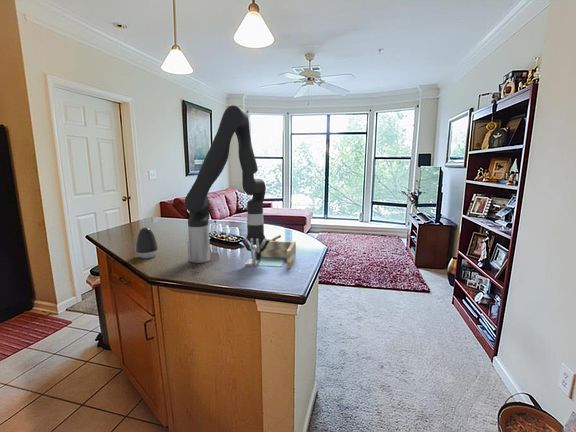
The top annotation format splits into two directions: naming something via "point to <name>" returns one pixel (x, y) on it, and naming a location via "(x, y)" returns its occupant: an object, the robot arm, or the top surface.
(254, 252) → the bracket
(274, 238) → the wall
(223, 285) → the top surface
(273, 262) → the pad
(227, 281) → the top surface
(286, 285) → the top surface
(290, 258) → the arena
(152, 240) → the dark gray tapered dome
